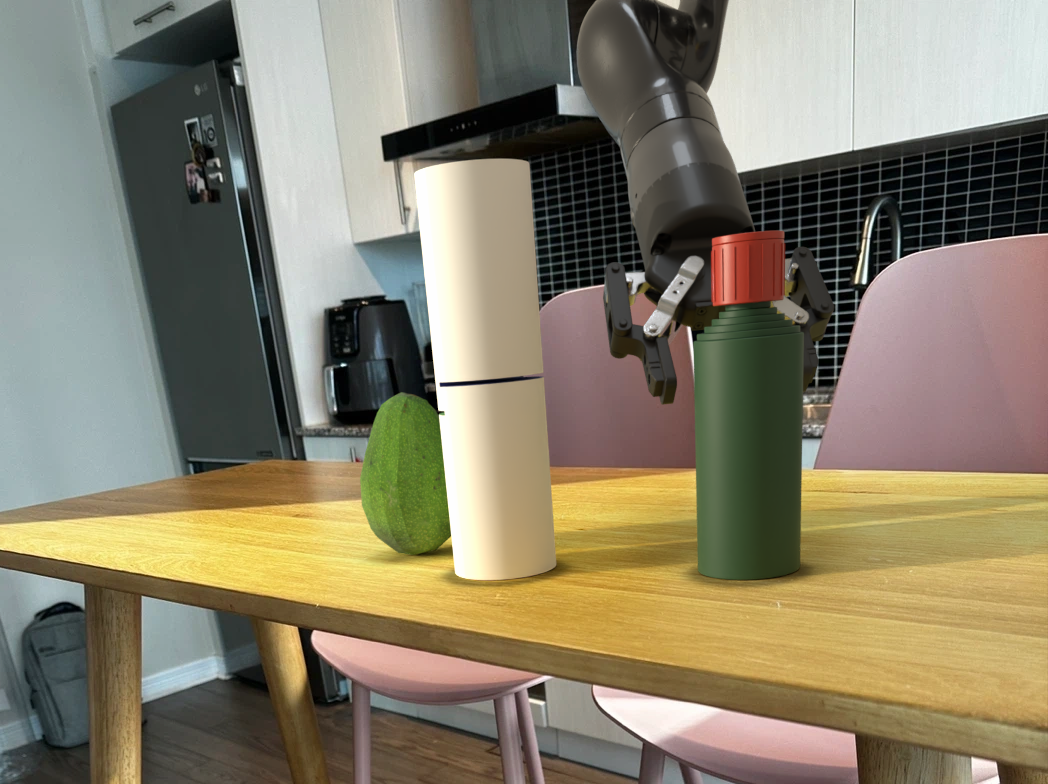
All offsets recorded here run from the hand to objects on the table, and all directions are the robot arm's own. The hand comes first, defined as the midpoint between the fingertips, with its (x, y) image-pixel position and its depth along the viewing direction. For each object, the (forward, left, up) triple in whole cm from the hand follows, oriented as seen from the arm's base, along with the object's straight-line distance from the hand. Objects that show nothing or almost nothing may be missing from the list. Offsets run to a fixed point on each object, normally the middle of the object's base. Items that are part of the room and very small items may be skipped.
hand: (737, 389), depth 64 cm
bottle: (+1, +2, -11) cm, 11 cm away
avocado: (+16, -20, -11) cm, 28 cm away
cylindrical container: (+13, -10, -11) cm, 19 cm away
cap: (+1, +2, +5) cm, 5 cm away
